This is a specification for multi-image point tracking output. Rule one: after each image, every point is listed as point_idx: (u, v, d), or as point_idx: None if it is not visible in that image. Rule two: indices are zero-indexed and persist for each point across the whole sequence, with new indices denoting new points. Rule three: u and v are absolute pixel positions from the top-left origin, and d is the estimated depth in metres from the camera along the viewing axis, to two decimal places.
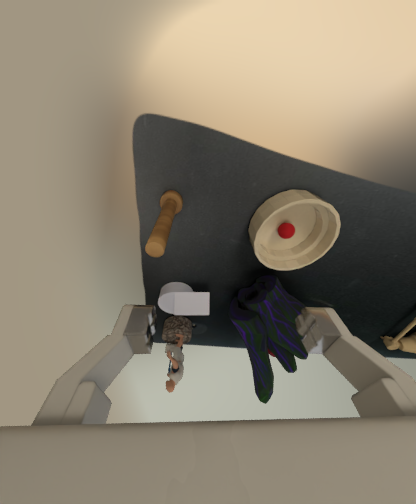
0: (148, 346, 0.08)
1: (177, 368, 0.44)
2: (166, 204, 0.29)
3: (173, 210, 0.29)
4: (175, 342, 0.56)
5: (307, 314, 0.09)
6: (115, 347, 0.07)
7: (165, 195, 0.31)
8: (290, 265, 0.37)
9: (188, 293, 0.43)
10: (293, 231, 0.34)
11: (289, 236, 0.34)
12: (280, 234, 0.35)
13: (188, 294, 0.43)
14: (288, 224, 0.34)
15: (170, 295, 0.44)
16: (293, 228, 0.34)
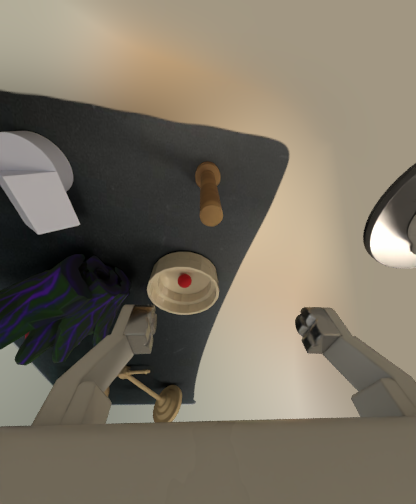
0: (148, 346, 0.08)
1: None
2: None
3: None
4: None
5: (307, 314, 0.09)
6: (114, 347, 0.07)
7: (218, 172, 0.28)
8: (153, 295, 0.40)
9: (64, 195, 0.27)
10: (186, 287, 0.40)
11: (182, 286, 0.39)
12: (182, 279, 0.39)
13: (62, 195, 0.27)
14: (191, 281, 0.40)
15: (43, 161, 0.25)
16: None
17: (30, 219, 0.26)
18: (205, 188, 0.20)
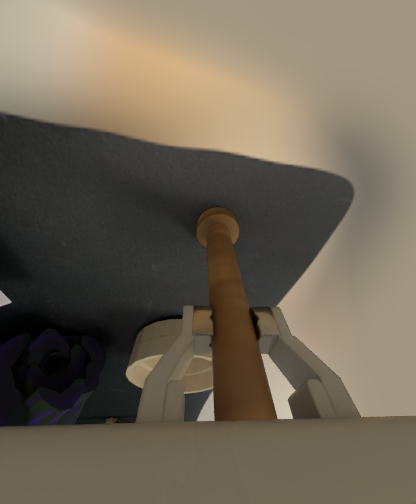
0: None
1: None
2: (233, 248, 0.14)
3: None
4: None
5: (253, 314, 0.09)
6: (188, 346, 0.07)
7: (235, 226, 0.16)
8: (136, 376, 0.28)
9: None
10: None
11: None
12: None
13: None
14: None
15: None
16: None
17: None
18: (222, 305, 0.09)
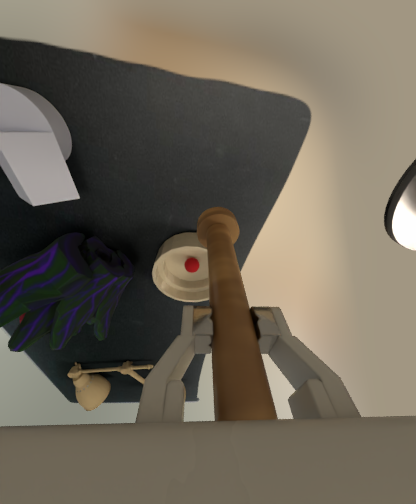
0: (210, 346, 0.09)
1: None
2: None
3: None
4: None
5: (253, 314, 0.09)
6: (188, 347, 0.07)
7: (235, 226, 0.16)
8: (158, 280, 0.37)
9: (62, 161, 0.24)
10: (194, 271, 0.37)
11: (189, 270, 0.37)
12: (189, 262, 0.36)
13: (60, 162, 0.24)
14: (199, 265, 0.38)
15: (38, 120, 0.22)
16: (196, 270, 0.38)
17: (24, 187, 0.23)
18: (222, 304, 0.09)
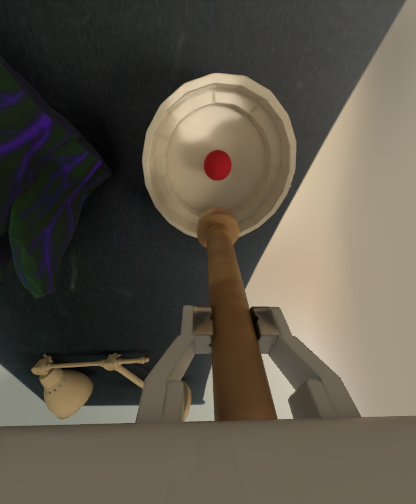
0: (210, 346, 0.09)
1: None
2: (233, 248, 0.14)
3: None
4: None
5: (253, 314, 0.09)
6: (188, 347, 0.07)
7: (235, 226, 0.16)
8: (155, 188, 0.19)
9: None
10: (223, 174, 0.20)
11: (214, 170, 0.19)
12: (215, 154, 0.19)
13: None
14: (231, 165, 0.20)
15: None
16: (226, 174, 0.20)
17: None
18: (222, 305, 0.09)
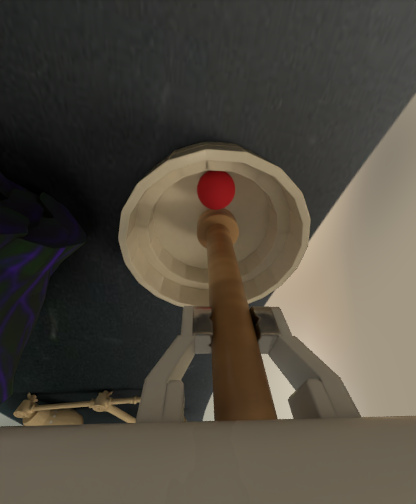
0: (210, 346, 0.09)
1: None
2: (233, 248, 0.14)
3: None
4: None
5: (253, 314, 0.09)
6: (188, 346, 0.07)
7: (235, 226, 0.16)
8: (137, 262, 0.16)
9: None
10: None
11: None
12: None
13: None
14: None
15: None
16: (229, 175, 0.14)
17: None
18: (222, 305, 0.09)
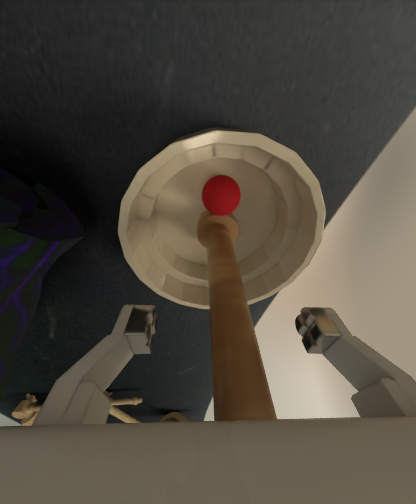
0: (148, 346, 0.08)
1: None
2: (233, 248, 0.14)
3: None
4: None
5: (307, 314, 0.09)
6: (114, 347, 0.07)
7: (235, 226, 0.16)
8: (138, 257, 0.15)
9: None
10: (230, 181, 0.13)
11: (217, 177, 0.14)
12: None
13: None
14: None
15: None
16: (236, 187, 0.14)
17: None
18: (222, 304, 0.09)
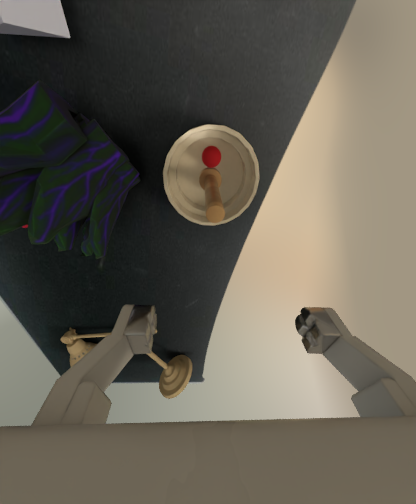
0: (148, 346, 0.08)
1: None
2: (217, 183, 0.29)
3: None
4: None
5: (308, 314, 0.09)
6: (114, 347, 0.07)
7: (219, 176, 0.31)
8: (169, 189, 0.30)
9: None
10: (215, 147, 0.28)
11: (209, 146, 0.28)
12: None
13: None
14: None
15: None
16: (218, 150, 0.28)
17: None
18: (209, 191, 0.24)
